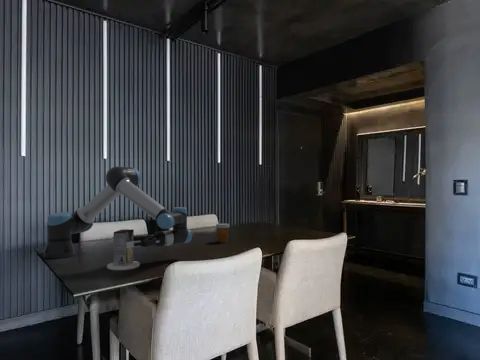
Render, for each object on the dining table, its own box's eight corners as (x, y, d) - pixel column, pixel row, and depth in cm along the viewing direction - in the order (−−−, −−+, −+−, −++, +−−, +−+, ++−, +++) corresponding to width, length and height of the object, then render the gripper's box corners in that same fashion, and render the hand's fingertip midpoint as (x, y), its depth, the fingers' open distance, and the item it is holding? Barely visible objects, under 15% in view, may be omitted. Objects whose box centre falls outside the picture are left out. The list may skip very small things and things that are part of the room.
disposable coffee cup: (231, 240, 238) (231, 223, 238) (227, 243, 229) (227, 225, 229) (218, 240, 241) (218, 222, 241) (213, 242, 232) (213, 224, 232)
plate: (104, 271, 158) (104, 268, 158) (109, 263, 172) (109, 261, 172) (138, 269, 161) (138, 266, 161) (140, 262, 176) (140, 259, 176)
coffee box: (121, 261, 171) (121, 229, 172) (134, 261, 171) (134, 229, 171) (113, 266, 162) (113, 231, 162) (126, 266, 162) (126, 232, 162)
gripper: (173, 249, 169) (130, 255, 156) (153, 242, 189) (113, 246, 176) (173, 234, 169) (130, 238, 156) (153, 228, 189) (113, 232, 176)
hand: (121, 242), depth 166 cm, fingers open, 13 cm apart
